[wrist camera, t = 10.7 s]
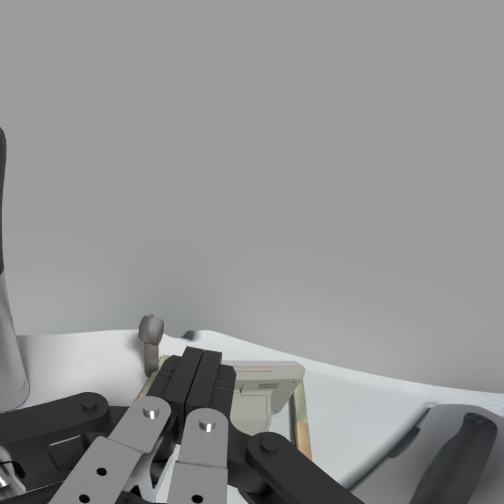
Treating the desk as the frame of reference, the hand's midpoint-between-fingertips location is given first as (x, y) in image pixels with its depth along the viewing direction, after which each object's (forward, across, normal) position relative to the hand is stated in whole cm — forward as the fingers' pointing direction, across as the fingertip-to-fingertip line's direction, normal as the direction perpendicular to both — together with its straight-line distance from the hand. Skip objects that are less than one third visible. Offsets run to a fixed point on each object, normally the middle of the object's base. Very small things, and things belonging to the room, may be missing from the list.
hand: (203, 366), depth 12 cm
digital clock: (+18, -1, +22) cm, 28 cm away
